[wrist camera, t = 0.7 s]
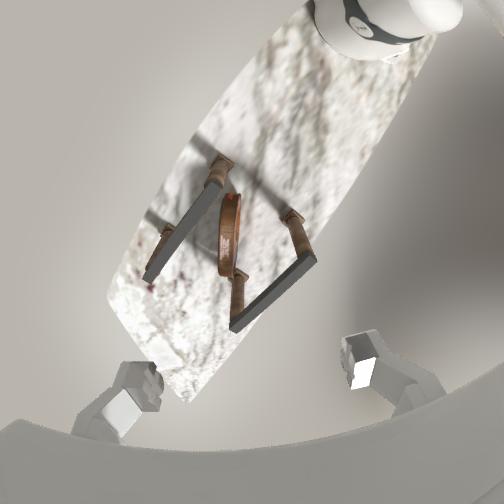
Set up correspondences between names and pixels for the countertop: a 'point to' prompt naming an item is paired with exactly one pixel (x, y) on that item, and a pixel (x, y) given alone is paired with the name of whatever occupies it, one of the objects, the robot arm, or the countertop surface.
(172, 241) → the grey bar
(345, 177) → the countertop surface
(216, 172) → the wooden stanchion pair
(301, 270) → the dark grey beam
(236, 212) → the tin
